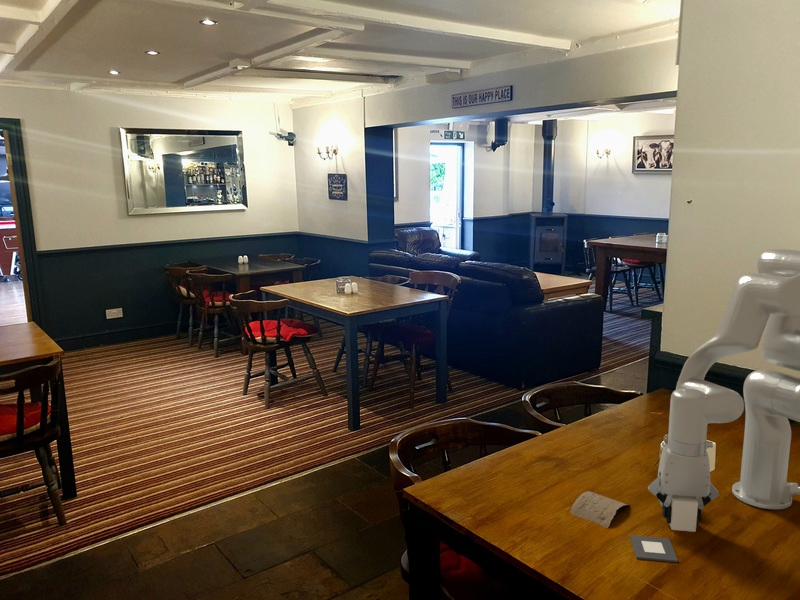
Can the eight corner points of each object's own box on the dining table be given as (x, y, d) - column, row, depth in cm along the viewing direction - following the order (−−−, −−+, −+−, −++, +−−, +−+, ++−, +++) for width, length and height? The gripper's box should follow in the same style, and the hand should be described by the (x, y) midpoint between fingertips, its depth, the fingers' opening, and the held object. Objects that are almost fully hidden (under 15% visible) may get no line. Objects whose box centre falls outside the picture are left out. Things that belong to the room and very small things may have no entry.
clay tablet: (607, 532, 138) (608, 520, 137) (565, 516, 144) (566, 506, 144) (632, 506, 148) (633, 496, 148) (592, 493, 155) (592, 483, 155)
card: (668, 540, 133) (669, 538, 133) (678, 562, 125) (678, 560, 125) (629, 537, 135) (629, 534, 135) (636, 558, 127) (636, 556, 127)
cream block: (689, 519, 141) (691, 491, 140) (695, 531, 136) (697, 502, 135) (666, 517, 142) (668, 489, 141) (671, 529, 137) (673, 500, 136)
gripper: (723, 440, 138) (716, 515, 141) (642, 436, 141) (637, 509, 144) (734, 455, 130) (727, 534, 134) (648, 450, 134) (644, 527, 137)
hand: (681, 520), depth 139 cm, fingers closed on cream block, 5 cm apart
